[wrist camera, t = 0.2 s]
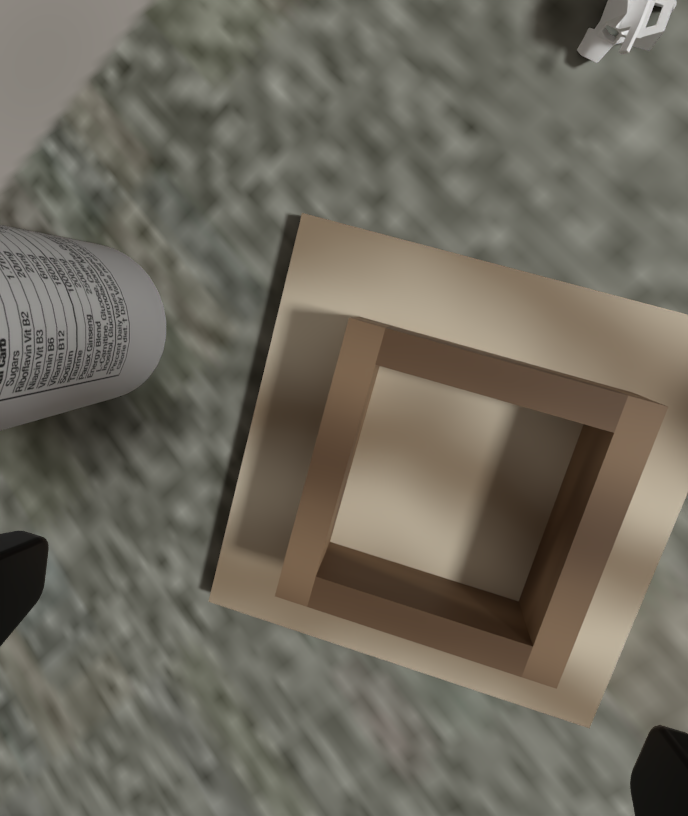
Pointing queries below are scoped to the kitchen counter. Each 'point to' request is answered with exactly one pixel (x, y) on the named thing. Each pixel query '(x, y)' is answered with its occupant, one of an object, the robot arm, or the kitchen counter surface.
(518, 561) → the socket board
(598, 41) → the adhesive hook
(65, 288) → the energy drink can
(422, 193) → the kitchen counter surface
